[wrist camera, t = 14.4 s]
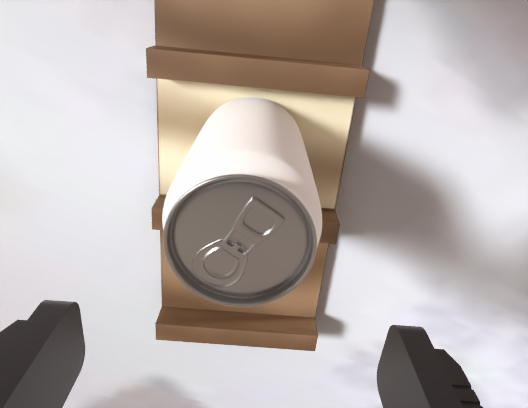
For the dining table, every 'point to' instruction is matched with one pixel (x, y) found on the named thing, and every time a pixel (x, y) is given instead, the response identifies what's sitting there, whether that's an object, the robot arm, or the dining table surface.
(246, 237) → the can
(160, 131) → the notch rack
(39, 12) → the dining table surface
